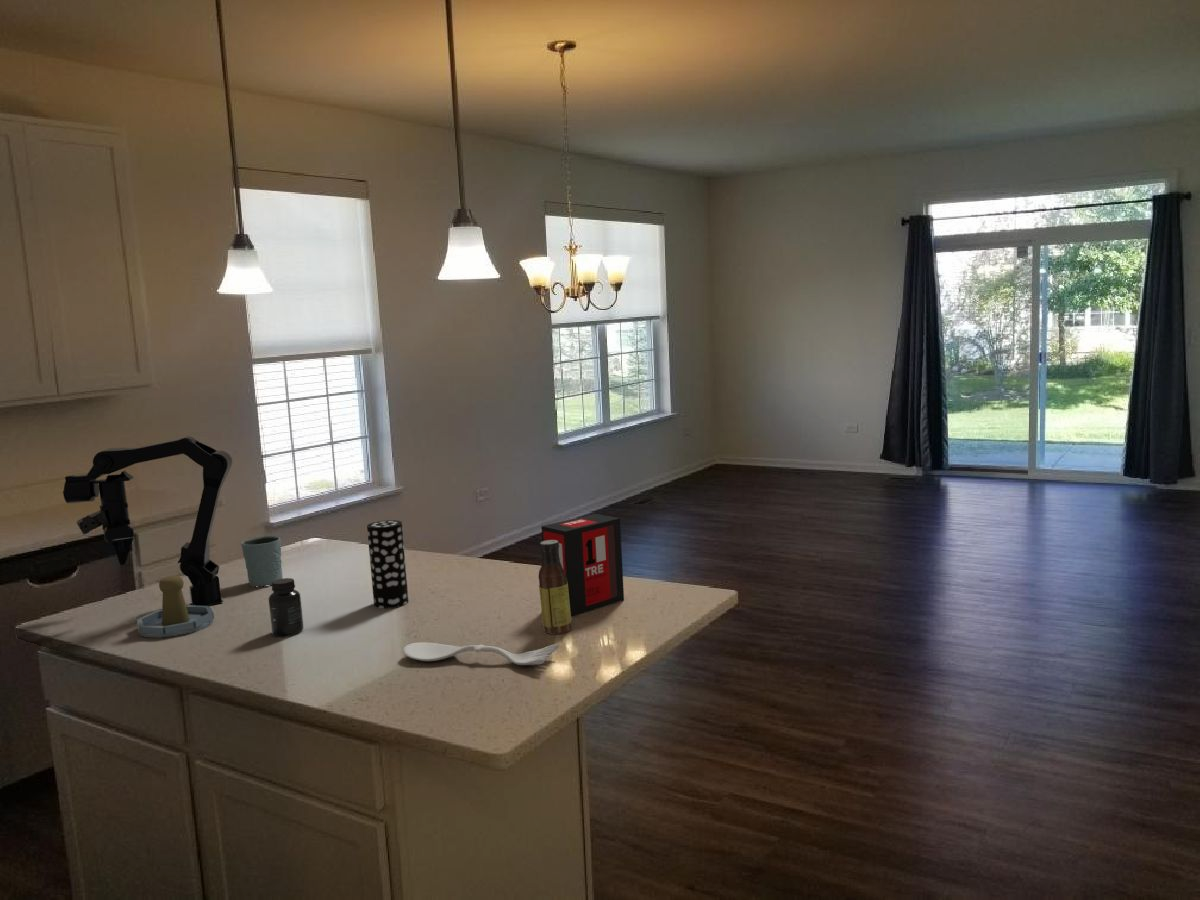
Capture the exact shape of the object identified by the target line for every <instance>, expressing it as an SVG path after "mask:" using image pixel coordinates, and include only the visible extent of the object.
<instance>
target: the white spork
mask: <svg viewBox="0 0 1200 900" xmlns="http://www.w3.org/2000/svg"><path fill="white" fill-rule="evenodd" d="M559 647H560V646H559V645H558V644H554V643H553V644H551V645H550V644H549V645H548V646H546V647H543V648H538V649H535V650H529V651H526V652H521V653H513V652H510V651H508V650H505V649H503V648H500V647H497V646H493V645H491V646H490V645H484V644H477V645H474V644H473V645H472V644H470V645H465V646H464V645H463V646H457V645H451V644H442V643H436V642H425V641H423V642H412V643H409V644H407V645H405V646H404V647H403V649H402V653H403V655H404V656H406V657H408V658H409V659H412V660H414V661H415V660H417V661H419V662H420V661H421V662H436V661H437V662H438V661H441V660H445V659H448V658H451V657H454V656H456V655H459V654H461V653H464V652H472V651H474V652H475V653H479V652H480V653H481V652H488V653H495V654H498V655H501V656H502V657H504V658H505V659H507V660H509V661H510V662H511V663H513V664H515V665H517V666H535V665H542V664H545V661H547V659H548V658H549V657H550V656H551V655H553V653H554V652H555V651H556V650H558V649H559Z"/></svg>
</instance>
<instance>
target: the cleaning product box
mask: <svg viewBox="0 0 1200 900" xmlns="http://www.w3.org/2000/svg"><path fill="white" fill-rule="evenodd" d="M621 532H622V531H621V518H619V517H614V516H610V515H609V516H608V515H603V514H600V513H592V514H589V515H584V516H579V517H576V518H571V519H566V520H562V521H558V522H554V523H549V524H545V525H542V526H541V542H542V541H546V540H557V541H558V542H559V548H558V550H559V558H560V563H561V565H562V568H563V570H564V571H565V574H566V577H567V582H568V592H569V602H570V612H571V618H574V617H577V616H579V615H583V614H586V613H589V612H592V611H595V610H599V609H601V608H605V607H607V606H608V607H609V606H611V605H613V604H617V603H620V602H623V601H625V592H624V591H625V589H624V574H623V573H624V571H623V569H624V568H623V554H622V553H623V549H622V533H621Z"/></svg>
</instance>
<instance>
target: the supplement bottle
mask: <svg viewBox="0 0 1200 900" xmlns="http://www.w3.org/2000/svg"><path fill="white" fill-rule="evenodd" d="M295 588H296V585H295V580H294V578H291V577H286V578H283V577H282V579H278V580H275V581H273V582H272V586H271V591H272V593H271V594H270V595H269V597H268V608H269V616H270V617H269V618H270V623H271V624H270V625H271V626H270V627H271V633H272V635H273V636H274V637H280V638H285V637H286V636H287V637H291V636H296V635H299V634H300V633H302V632H303V630H304V619H303V609H302V599H301V593H300V592H299V591H298V590H297V589H295Z"/></svg>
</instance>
